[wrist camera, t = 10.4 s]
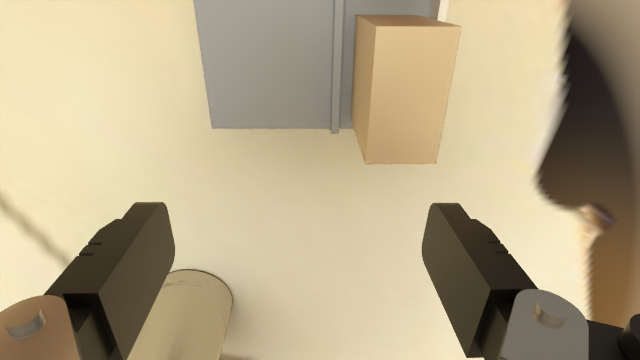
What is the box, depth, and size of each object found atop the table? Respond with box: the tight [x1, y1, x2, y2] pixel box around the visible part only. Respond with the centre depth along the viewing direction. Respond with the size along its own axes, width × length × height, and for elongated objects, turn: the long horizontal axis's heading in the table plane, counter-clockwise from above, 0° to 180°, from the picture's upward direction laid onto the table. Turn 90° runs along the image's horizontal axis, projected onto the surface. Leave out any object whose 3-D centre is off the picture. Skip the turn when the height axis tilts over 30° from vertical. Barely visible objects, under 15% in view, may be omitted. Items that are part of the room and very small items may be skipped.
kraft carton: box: [350, 14, 462, 164], centre depth 24 cm, size 5×8×9 cm, turn 0°
